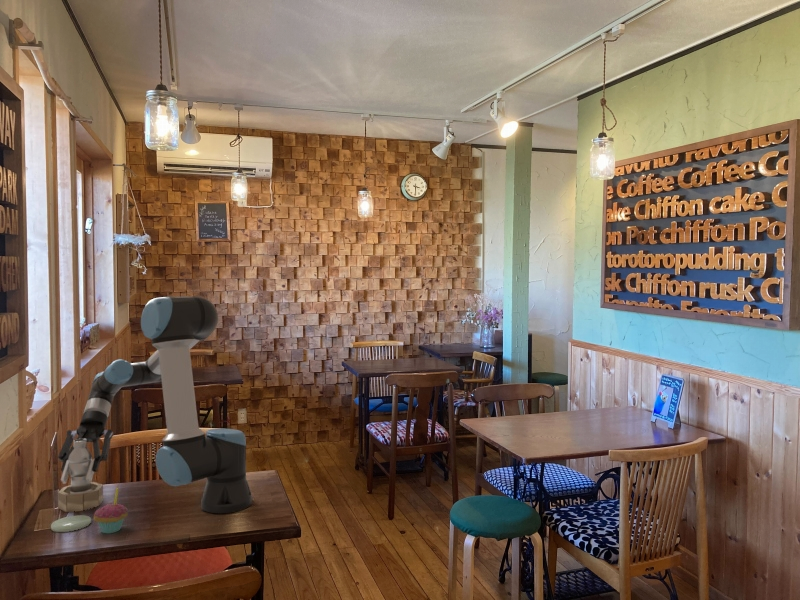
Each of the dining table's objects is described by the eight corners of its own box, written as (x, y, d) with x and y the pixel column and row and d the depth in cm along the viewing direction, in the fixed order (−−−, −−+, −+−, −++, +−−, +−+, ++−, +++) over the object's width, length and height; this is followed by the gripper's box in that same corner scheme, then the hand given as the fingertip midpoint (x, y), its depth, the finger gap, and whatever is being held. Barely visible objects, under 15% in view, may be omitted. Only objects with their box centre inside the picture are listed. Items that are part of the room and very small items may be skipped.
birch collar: (109, 502, 191) (109, 486, 191) (72, 514, 181) (72, 497, 181) (88, 495, 197) (88, 480, 197) (52, 506, 188) (52, 490, 187)
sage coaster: (98, 523, 175) (98, 520, 175) (62, 535, 167) (62, 532, 167) (79, 515, 181) (79, 512, 181) (43, 526, 172) (43, 524, 172)
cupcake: (119, 521, 176) (118, 480, 176) (133, 529, 171) (133, 486, 170) (88, 531, 169) (87, 488, 169) (102, 539, 164) (102, 495, 164)
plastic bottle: (98, 501, 192) (97, 438, 191) (81, 509, 185) (80, 443, 184) (81, 499, 193) (80, 436, 193) (63, 507, 187) (62, 442, 186)
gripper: (129, 421, 205) (112, 486, 189) (67, 422, 203) (46, 488, 187) (123, 408, 199) (106, 474, 184) (60, 409, 197) (37, 476, 181)
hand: (75, 481), depth 185 cm, fingers open, 6 cm apart
